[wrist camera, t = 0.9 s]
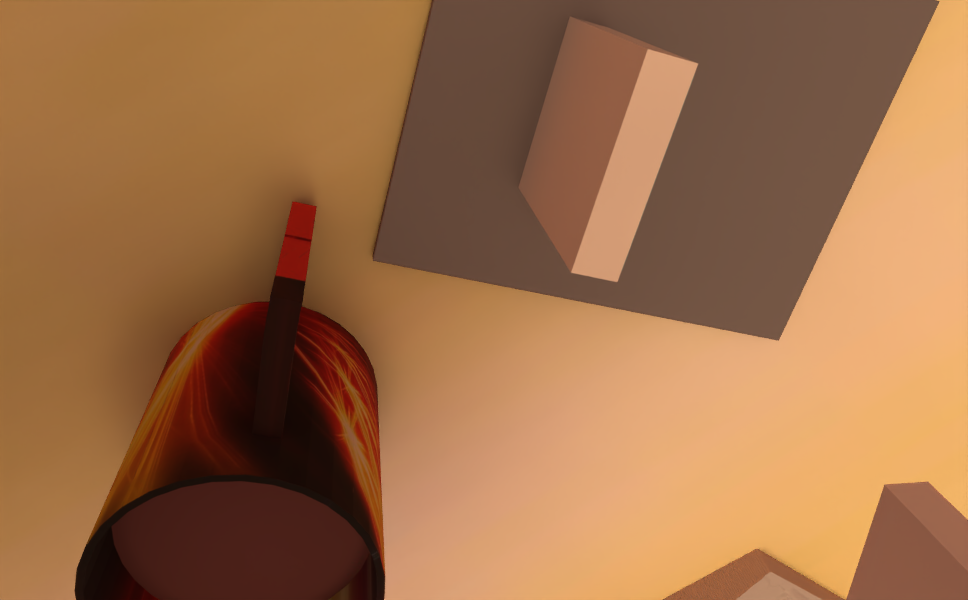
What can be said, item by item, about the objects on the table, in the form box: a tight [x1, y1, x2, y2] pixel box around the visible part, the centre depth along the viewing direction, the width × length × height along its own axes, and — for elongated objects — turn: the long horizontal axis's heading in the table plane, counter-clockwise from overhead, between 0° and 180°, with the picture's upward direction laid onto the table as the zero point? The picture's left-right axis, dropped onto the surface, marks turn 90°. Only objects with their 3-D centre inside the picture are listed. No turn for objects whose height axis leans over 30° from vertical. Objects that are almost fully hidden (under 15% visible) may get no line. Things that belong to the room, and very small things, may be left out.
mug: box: [75, 202, 385, 600], centre depth 30 cm, size 10×14×12 cm
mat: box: [373, 0, 939, 340], centre depth 33 cm, size 20×16×1 cm
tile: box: [518, 17, 698, 282], centre depth 27 cm, size 2×7×9 cm, turn 164°
